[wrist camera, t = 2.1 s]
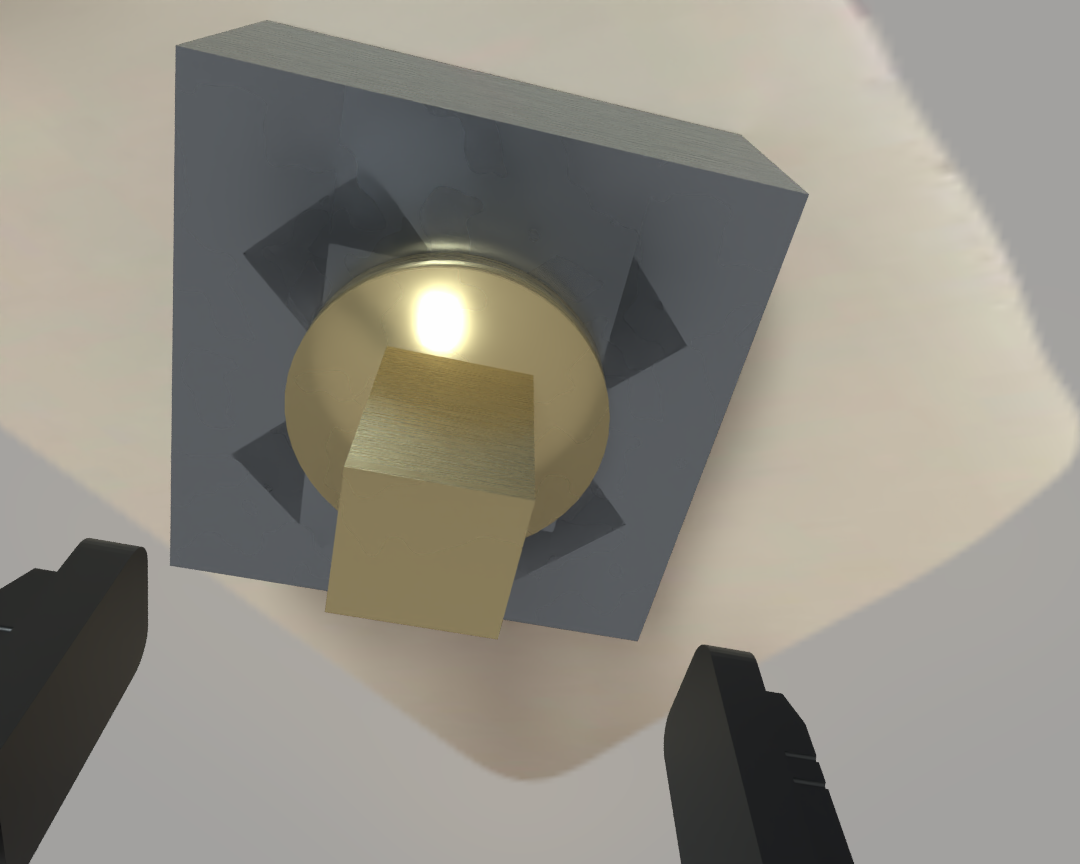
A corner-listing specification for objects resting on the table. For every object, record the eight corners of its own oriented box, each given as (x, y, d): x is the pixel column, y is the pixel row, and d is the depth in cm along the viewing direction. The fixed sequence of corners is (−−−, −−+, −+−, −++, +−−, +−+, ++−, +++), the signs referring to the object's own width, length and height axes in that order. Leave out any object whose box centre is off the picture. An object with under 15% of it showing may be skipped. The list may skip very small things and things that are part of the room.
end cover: (319, 420, 23) (207, 673, 15) (346, 173, 20) (222, 329, 12) (560, 465, 24) (576, 728, 16) (624, 235, 21) (687, 421, 13)
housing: (241, 441, 26) (170, 565, 21) (267, 20, 20) (175, 45, 15) (617, 509, 27) (637, 640, 22) (740, 135, 22) (809, 194, 16)
